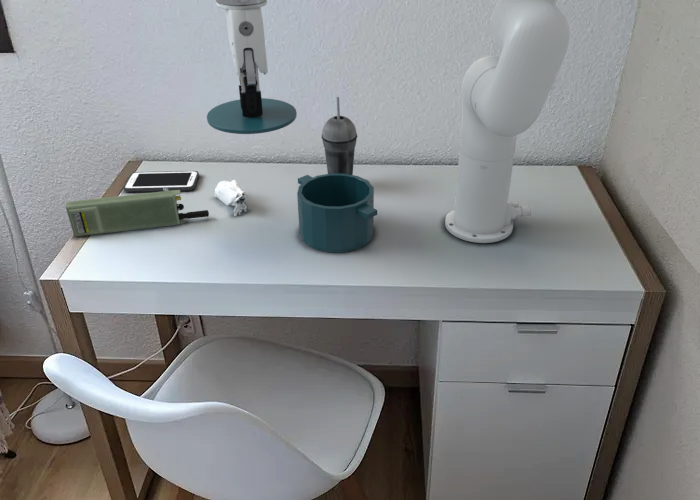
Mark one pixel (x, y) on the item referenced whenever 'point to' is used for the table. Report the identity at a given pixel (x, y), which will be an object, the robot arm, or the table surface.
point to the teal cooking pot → (335, 212)
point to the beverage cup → (339, 143)
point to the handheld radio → (127, 213)
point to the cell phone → (161, 181)
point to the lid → (233, 120)
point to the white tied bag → (231, 195)
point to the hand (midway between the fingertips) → (251, 111)
